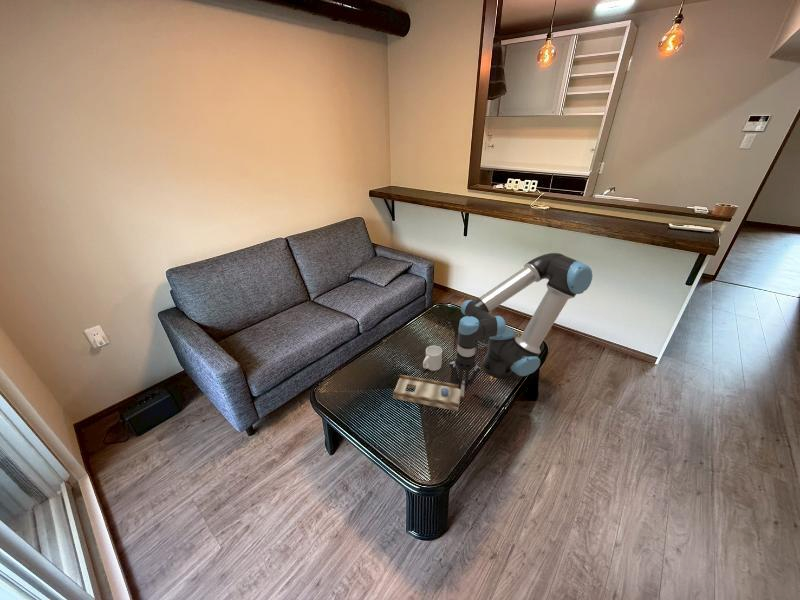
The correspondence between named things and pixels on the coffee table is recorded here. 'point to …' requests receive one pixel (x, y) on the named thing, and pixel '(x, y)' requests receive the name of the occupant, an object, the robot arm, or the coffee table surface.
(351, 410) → the coffee table surface
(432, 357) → the mug
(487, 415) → the coffee table surface
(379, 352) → the coffee table surface
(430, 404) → the tray
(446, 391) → the ball
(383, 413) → the coffee table surface
